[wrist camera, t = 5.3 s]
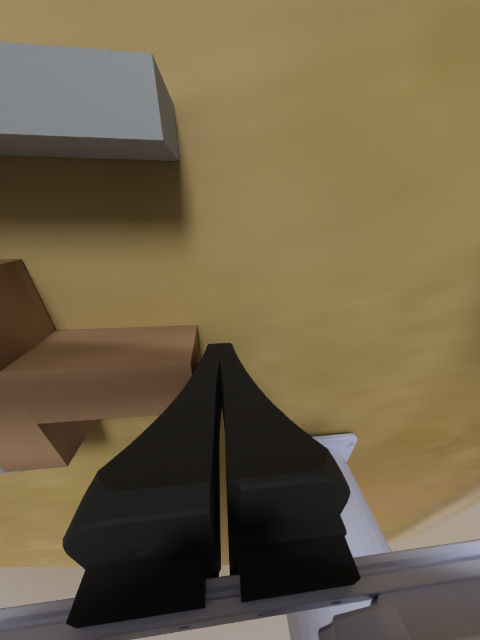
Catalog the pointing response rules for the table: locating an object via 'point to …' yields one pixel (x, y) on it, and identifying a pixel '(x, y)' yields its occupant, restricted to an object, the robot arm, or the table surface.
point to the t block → (76, 375)
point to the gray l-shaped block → (84, 105)
